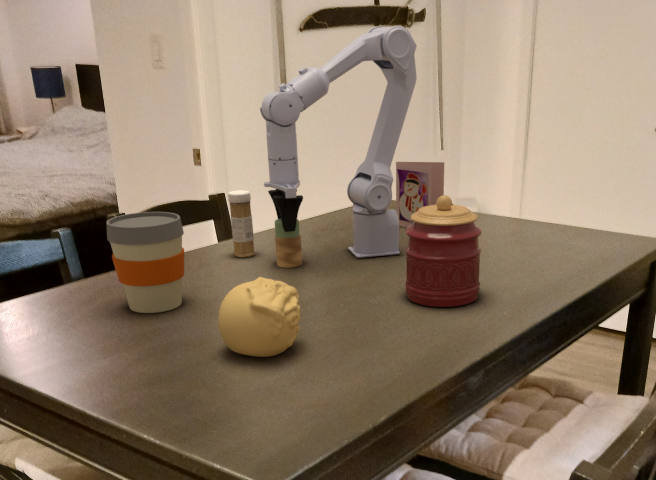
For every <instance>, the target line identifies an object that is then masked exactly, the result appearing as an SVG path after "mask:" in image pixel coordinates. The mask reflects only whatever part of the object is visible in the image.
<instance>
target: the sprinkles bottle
mask: <svg viewBox="0 0 656 480" xmlns="http://www.w3.org/2000/svg"><path fill="white" fill-rule="evenodd" d="M227 200H228V202H229V209H230V224H231V225H230V226H231V235H232V241H233V242H232V243H233V255H234V256H235V257H236V258H250V257H253V256H255V254H256V251H255V243H254V239H255V237H254V225H253V216H252V208H251V201H252V198H251V192H250V191H249V190H245V189H239V190H238V189H237V190H232V191H229V192H228V193H227Z"/></svg>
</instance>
